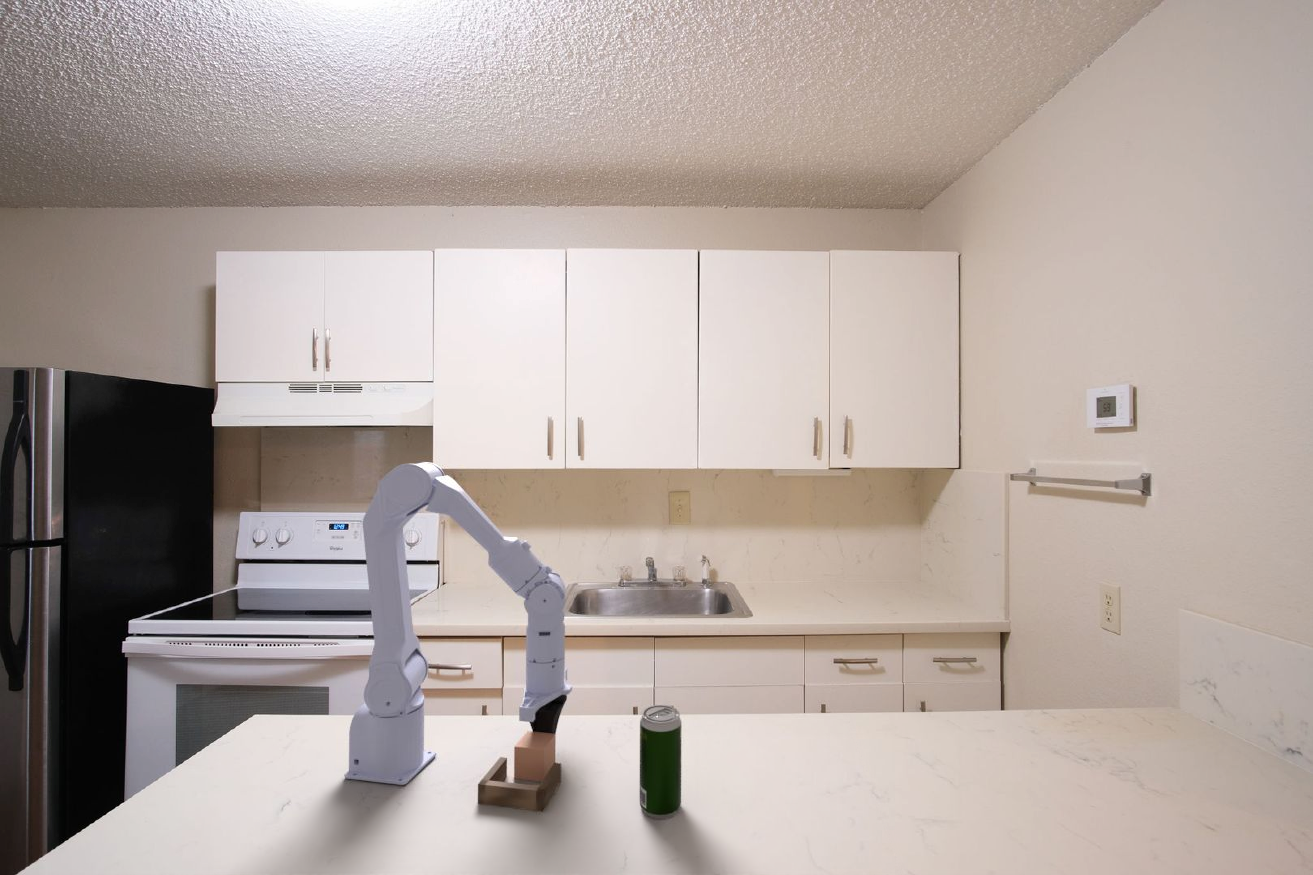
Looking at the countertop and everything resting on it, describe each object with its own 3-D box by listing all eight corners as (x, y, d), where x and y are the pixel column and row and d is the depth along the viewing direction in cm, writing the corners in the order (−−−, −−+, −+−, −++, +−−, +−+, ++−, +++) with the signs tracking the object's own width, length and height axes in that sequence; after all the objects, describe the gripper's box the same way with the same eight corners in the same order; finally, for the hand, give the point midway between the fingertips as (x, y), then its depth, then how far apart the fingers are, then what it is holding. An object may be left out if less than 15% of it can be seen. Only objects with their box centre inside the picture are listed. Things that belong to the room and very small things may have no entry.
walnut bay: (477, 803, 73) (478, 783, 73) (500, 774, 79) (500, 756, 79) (543, 811, 71) (543, 791, 72) (560, 781, 78) (561, 763, 78)
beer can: (654, 826, 69) (654, 727, 69) (631, 803, 73) (632, 710, 73) (689, 811, 72) (689, 716, 72) (665, 789, 76) (666, 700, 76)
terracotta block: (514, 778, 79) (514, 746, 79) (527, 760, 83) (527, 730, 83) (543, 781, 78) (543, 749, 78) (555, 764, 82) (555, 733, 82)
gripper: (554, 677, 76) (553, 778, 76) (585, 641, 91) (584, 726, 90) (505, 673, 78) (504, 772, 77) (543, 638, 92) (543, 722, 92)
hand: (544, 747), depth 84 cm, fingers closed
